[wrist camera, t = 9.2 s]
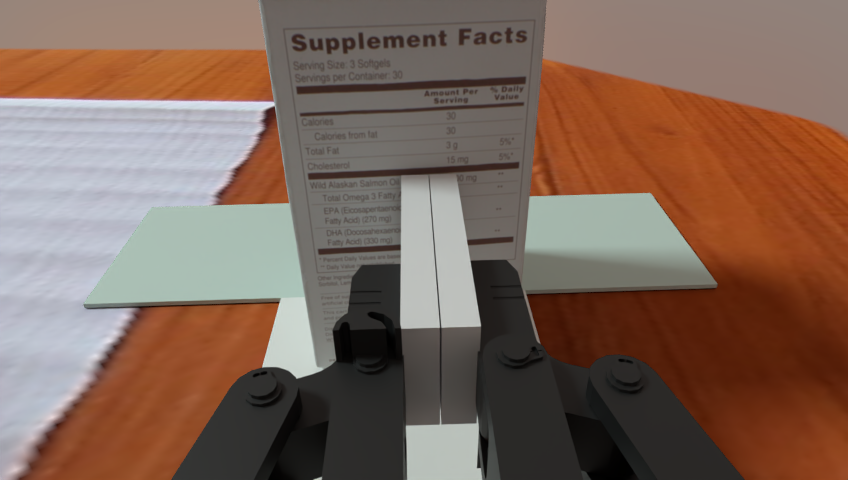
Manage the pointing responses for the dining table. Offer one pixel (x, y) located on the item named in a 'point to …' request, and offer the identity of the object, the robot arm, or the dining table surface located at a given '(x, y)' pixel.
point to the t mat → (281, 282)
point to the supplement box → (400, 128)
